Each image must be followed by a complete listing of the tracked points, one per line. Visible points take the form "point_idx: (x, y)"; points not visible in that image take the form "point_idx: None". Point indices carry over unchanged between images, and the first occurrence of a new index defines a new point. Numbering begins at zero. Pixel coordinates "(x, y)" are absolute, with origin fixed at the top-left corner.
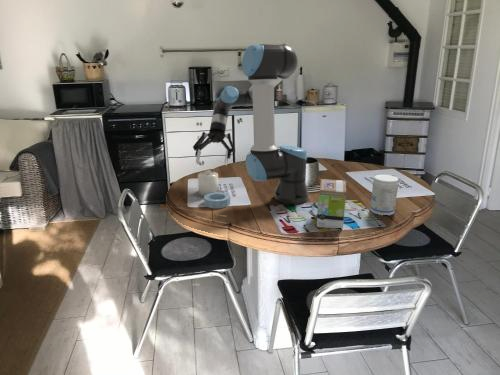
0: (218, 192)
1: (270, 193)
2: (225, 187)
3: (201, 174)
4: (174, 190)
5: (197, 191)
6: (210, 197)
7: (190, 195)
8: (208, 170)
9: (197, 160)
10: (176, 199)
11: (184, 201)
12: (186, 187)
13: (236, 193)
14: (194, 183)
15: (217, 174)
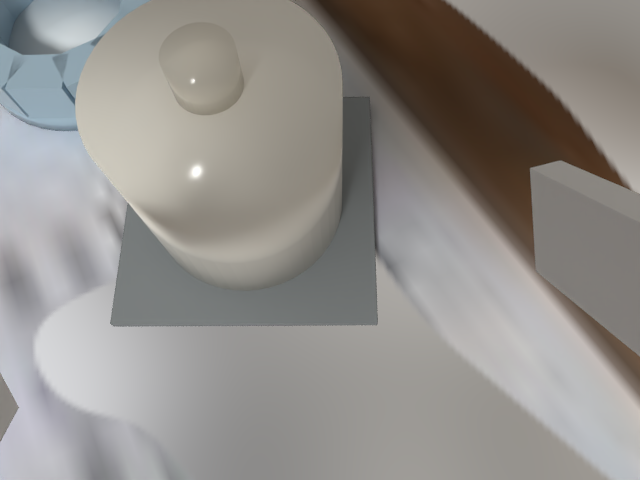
0: (172, 261)
1: None
2: (183, 476)
3: (286, 51)
4: (599, 170)
5: (372, 202)
6: None
7: (367, 97)
8: (200, 73)
9: (537, 170)
10: (427, 17)
11: (346, 10)
12: None
13: (7, 341)
14: (590, 454)
15: (86, 131)
